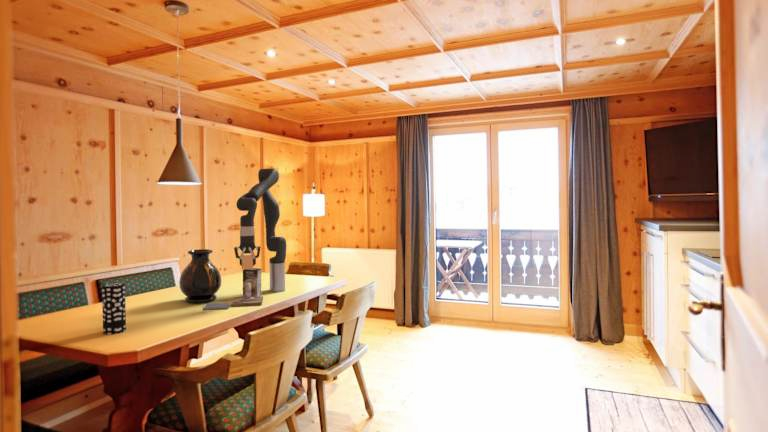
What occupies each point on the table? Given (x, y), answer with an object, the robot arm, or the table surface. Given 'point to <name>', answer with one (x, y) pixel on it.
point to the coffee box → (252, 281)
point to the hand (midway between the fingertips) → (247, 265)
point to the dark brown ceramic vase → (200, 278)
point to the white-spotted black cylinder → (113, 308)
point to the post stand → (247, 298)
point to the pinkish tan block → (247, 262)
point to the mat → (216, 306)
